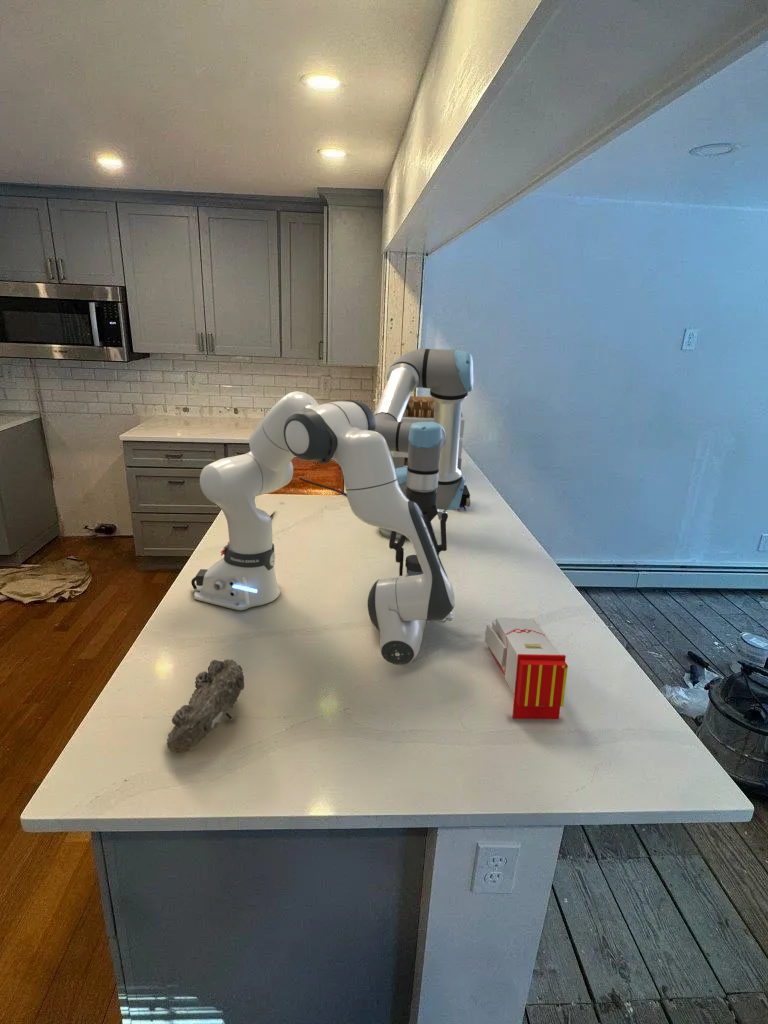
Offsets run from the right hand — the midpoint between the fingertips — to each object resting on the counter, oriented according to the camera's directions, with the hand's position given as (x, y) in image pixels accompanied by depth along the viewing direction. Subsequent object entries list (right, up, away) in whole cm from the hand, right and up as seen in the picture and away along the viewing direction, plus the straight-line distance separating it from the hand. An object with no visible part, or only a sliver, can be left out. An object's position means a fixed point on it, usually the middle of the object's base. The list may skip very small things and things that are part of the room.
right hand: (415, 574), depth 144 cm
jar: (0, -11, +4) cm, 12 cm away
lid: (0, +4, -1) cm, 4 cm away
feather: (-49, +15, +68) cm, 86 cm away
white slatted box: (+9, +35, +131) cm, 136 cm away
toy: (+21, -21, -20) cm, 35 cm away
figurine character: (+23, +18, +87) cm, 92 cm away
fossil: (-41, -23, -36) cm, 59 cm away
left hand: (0, -4, +3) cm, 5 cm away
